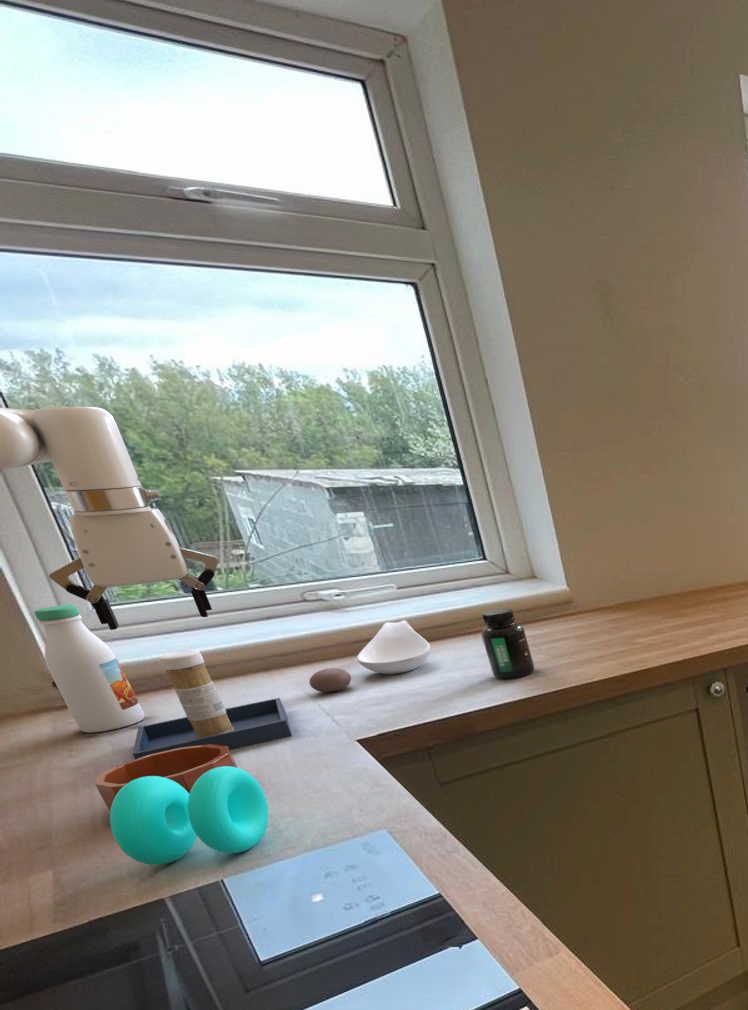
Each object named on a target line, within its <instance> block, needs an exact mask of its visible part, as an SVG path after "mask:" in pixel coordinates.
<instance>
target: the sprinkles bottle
mask: <svg viewBox="0 0 748 1010" xmlns="http://www.w3.org/2000/svg"><path fill="white" fill-rule="evenodd" d="M158 659H159V663H160V665H161V667H162V669H163V670H165V672H166V674H167V675H168V677H169V680H170V682H171V684H172V686H173V688H174V691H175V693H176V695H177V697H178V700H179V703H180V706H181V707H182V709H183V711H184V713H185V715H186V717H187V718H188V719H189V720H190V723H191V724H192V727H193V729H194V731H195V733H196V737H197V738H198V739H199V738H204V737H208V736H213V735H217V734H222V733H226V732H231V731H234V727H232V725H231V723H230V721H229V718H228V716H227V714H226V710H225V709H226V708H225V705H224V704H223V701H222V699H221V696H220V694H219V692H218V690H217V688H216V686H215V683H214V681H213V680H212V678H211V676H210V675H209V671H208V670H207V667H206V664H205V660H204V657H203V655H202V654H201V651H200V650H197V649H185V650H179V651H174V652H170V653H166V654H164V655H161V656H160V657H159V658H158Z"/></svg>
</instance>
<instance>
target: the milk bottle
mask: <svg viewBox="0 0 748 1010" xmlns="http://www.w3.org/2000/svg"><path fill="white" fill-rule="evenodd" d="M34 616H35V618H36V619H37V621H39V625H42V626H43V628H44V632H45V646H44V660H45V663H46V666H47V669H48V671H49V673H50V676H51V677H52V680H53V681H54V683H55V686H56V687H57V689H58V692H59V693H60V695H61V698H62V699H63V700H64V703H65V704H66V706H67V709H68V710H69V712H70V714H71V716H72V718H73V720H74V722H75V724H76V725H77V728H78V729H79V730H80V731H81V732H84V733H99V732H108V731H111V730H116V729H121V728H125V727H128V726H131V725H134V724H136V723H139V722H140V721H143V720H144V718H145V713H144V711H143V708H142V707H141V705H140V702H139V700H138V698H137V696H136V694H135V692H134V690H133V688H132V686H131V684H130V682H129V680H128V678H127V676H126V675H125V673H124V670H123V669H122V666H121V664H120V662H119V660H118V659H117V657H116V655H115V654H114V652H113V651H112V649H111V648H110V646H108V645H107V643H105V642H104V641H103V640H102V639H101V638H100V637H98V636H97V635H95V634H94V633H93V632H92V631H91V630H90V629H88V628H87V626H86V625H85V624H84V623H83V621H82V618H83V617H82V615H81V613H80V610H79V609H78V606H77V605H75V604H61V605H53V606H46V607H42V608H38V609H35V610H34Z"/></svg>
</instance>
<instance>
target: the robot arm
mask: <svg viewBox="0 0 748 1010" xmlns="http://www.w3.org/2000/svg"><path fill="white" fill-rule="evenodd" d="M45 463H52V465H53V468H54V470H55V472H56V474H57V477H58V479H59V482H60V484H61V486H62V488H63V491H64V492H65V495H66V497H67V499H68V502H69V504H70V506H71V509H72V511H73V514H69V515H68V520H69V525H70V529H71V530H70V531H71V534H72V537H73V540H74V544H75V547H76V550H77V553H78V555H79V557H77V558H76V559H74V560H72V561H70V562H68V563H67V564H65V565H63V566H61V567H60V568H58V569H55V570H54V571H52V572H50V573H49V575H48V577H49V579H50V580H52V581H53V582H54V583H55V584H57V585H58V586H59V587H60V588H62V589H64V590H65V591H66V592H67V593H69V594H71V595H74V596H76V597H78V598H80V599H82V600H85V601H87V602H88V603H91V604H92V607H93V609H94V611H95V614H96V616H97V618H98V620H99V622H100V624H101V625H108V628H109V630H110V631H113V630H117V629H118V628H119V626H120V625H119V621H118V620H117V618H116V615H115V613H114V611H113V609H112V606H111V604H110V602H109V600H108V599H106V598H105V596H104V593H105V592H106V590H107V589H108V588H115V587H123V586H124V587H125V586H134V585H135V586H136V585H143V584H150V583H151V584H152V583H160V582H168V581H176V580H179V581H181V582H183V584H185V585H187V586H189V587H191V590H190V594H191V595H192V596H191V597H192V599H193V600H194V603H195V605H196V608H197V611H198V613H199V615H200V617H201V618H208V617H209V614H208V611H212V610H213V608H212V605H211V603H210V601H209V597H208V595H207V593H206V591H205V588H206V587H207V585H208V584H209V583H210V582H211V581H212V580H213V578H214V577H215V574H216V571H217V567H218V563H219V558H218V557H217V556H216V555H211V554H208V553H205V552H200V551H196V550H192V549H189V548H184V547H180V545H179V542H178V540H177V538H176V536H175V534H174V532H173V530H172V528H171V526H170V525H169V523H168V521H167V519H166V518H165V516H164V515H163V513H162V511H161V510H160V509H159V508H151V506H150V504H152V502H155V501H162V497H161V494H160V492H159V490H151V489H147V488H144V487H143V486H142V484H141V481H140V479H139V476H138V474H137V471H136V469H135V466H134V464H133V462H132V459H131V456H130V454H129V452H128V449H127V446H126V445H125V442H124V439H123V437H122V434H121V432H120V430H119V427H118V425H117V422H116V420H115V419H114V416H113V415H112V414H111V413H110V412H109V411H107V410H106V409H104V408H101V407H96V406H51V407H50V406H49V407H41V408H38V409H24V408H23V409H22V408H10V407H0V470H8V469H14V468H22V467H25V466H31V465H32V466H33V465H38V464H45ZM187 559H188V560H191V561H192V560H193V561H195V562H200V563H202V564H203V565H204V568H203V571H202V572H201V573H200V574H199V576H198V577H197V576H195V575H193V574H192V573H190V572H189V566H188V563H187ZM82 569H84V571H85V573H86V575H87V577H88V580H89V581H90V582H91V583H92V584H93V586H92V587H91V589H89V588H86V587H84V586H82V585H79V584H77V583H75V582H74V581H73V580H72V579H71V578H70V576H71V575H73V574H75V573H77V572H79V571H80V570H82Z"/></svg>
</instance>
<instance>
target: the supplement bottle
mask: <svg viewBox="0 0 748 1010" xmlns="http://www.w3.org/2000/svg"><path fill="white" fill-rule="evenodd" d="M481 617H482V619H483V624H484V625H486V626H485V627H484V628H483V629H482V630H481V639H482V641H483V646H484V648H485V652H486V656H487V659H488V662H489V665H490V668H491V672H492V675H493V677H494V678H495V679H497V680H513V679H514V680H515V679H519V678H524V677H527V676H530V675H531V674H533V673H534V671H535V664H534V660H533V657H532V653H531V649H530V646H529V642H528V639H527V635H526V632H525V629H524V627H523V625H522V624H520V623H518V622H515V620H516V618H515V615H514V611H513V610H512V609H511V608H497V609H491V610H487V611H483V612H482V613H481Z"/></svg>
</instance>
